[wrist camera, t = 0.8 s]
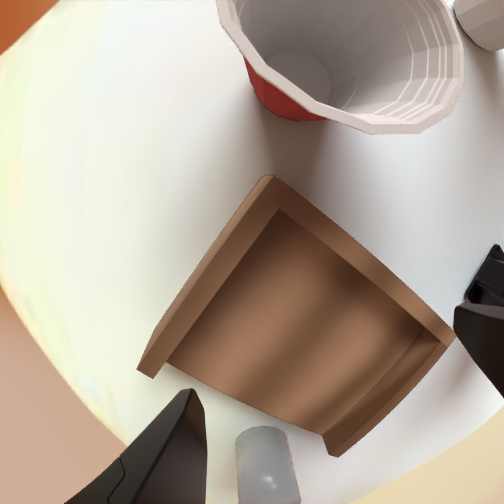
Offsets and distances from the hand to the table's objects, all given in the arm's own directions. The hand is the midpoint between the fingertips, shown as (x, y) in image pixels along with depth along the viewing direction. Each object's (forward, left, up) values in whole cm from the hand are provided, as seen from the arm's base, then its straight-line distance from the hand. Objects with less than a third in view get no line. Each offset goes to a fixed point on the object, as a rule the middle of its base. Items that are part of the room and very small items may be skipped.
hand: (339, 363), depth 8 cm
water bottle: (-4, -33, -14) cm, 36 cm away
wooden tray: (-5, +3, -13) cm, 15 cm away
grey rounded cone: (-11, +16, -13) cm, 24 cm away
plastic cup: (+6, -11, -14) cm, 18 cm away
